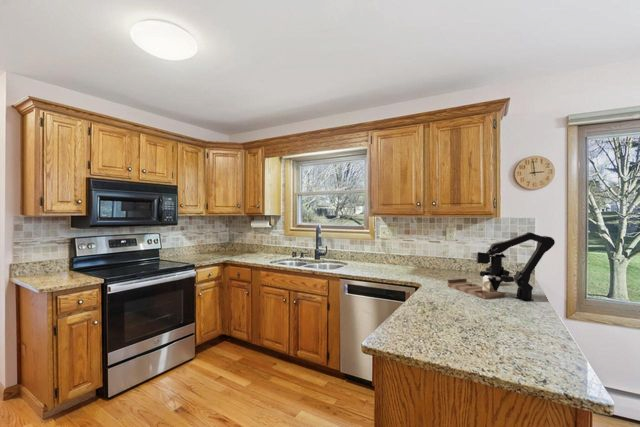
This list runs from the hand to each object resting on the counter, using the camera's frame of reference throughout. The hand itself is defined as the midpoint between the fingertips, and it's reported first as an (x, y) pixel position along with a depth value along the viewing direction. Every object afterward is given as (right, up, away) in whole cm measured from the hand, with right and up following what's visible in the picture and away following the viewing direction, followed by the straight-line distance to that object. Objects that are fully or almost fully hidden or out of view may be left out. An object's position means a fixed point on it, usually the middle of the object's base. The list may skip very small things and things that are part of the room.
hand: (495, 290), depth 177 cm
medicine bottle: (+13, -4, +29) cm, 32 cm away
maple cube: (-1, -1, +5) cm, 5 cm away
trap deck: (-7, -3, +11) cm, 14 cm away
